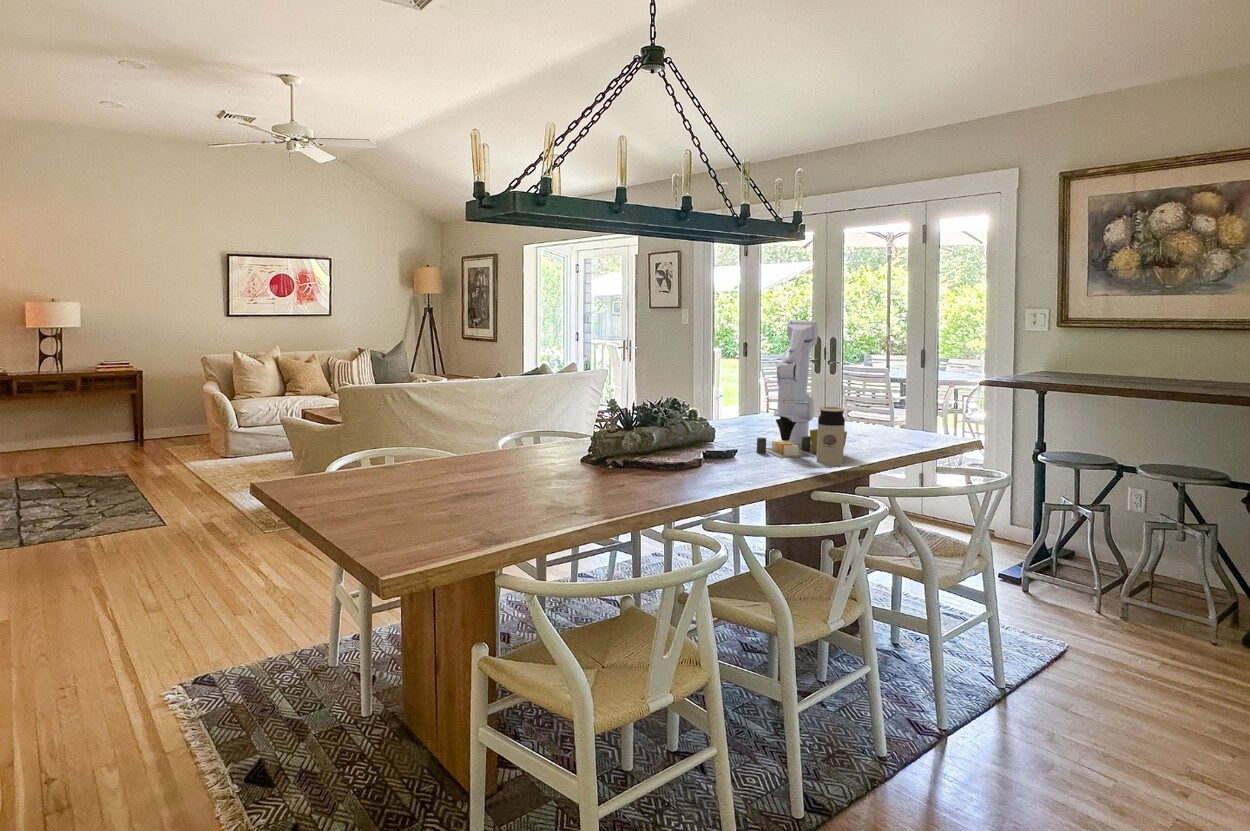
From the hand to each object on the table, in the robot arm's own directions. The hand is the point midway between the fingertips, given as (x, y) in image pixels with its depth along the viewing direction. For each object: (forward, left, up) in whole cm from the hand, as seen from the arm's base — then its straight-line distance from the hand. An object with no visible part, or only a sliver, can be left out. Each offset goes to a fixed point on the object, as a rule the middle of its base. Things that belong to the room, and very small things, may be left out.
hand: (785, 440), depth 261 cm
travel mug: (+18, +7, -5) cm, 20 cm away
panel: (0, 0, -5) cm, 5 cm away
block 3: (+4, 0, -4) cm, 6 cm away
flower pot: (+5, +13, -5) cm, 15 cm away
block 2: (0, 0, -4) cm, 4 cm away
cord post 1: (-1, -8, -5) cm, 10 cm away
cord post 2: (-1, +8, -5) cm, 10 cm away
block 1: (-5, 0, -4) cm, 6 cm away
